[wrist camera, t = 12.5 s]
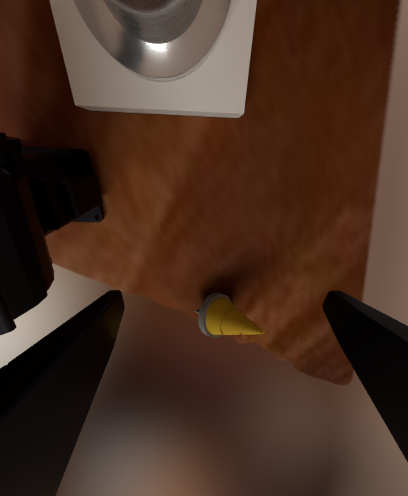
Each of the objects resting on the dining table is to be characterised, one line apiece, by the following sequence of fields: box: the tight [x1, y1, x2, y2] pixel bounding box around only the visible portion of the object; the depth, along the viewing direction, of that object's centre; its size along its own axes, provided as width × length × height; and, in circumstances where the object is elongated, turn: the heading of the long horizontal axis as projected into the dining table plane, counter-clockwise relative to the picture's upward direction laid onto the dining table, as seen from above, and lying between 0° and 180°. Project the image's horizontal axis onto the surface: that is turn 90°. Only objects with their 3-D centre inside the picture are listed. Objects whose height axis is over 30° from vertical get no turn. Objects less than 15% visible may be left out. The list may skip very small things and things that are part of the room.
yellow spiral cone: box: [195, 293, 265, 338], centre depth 22 cm, size 5×5×10 cm
